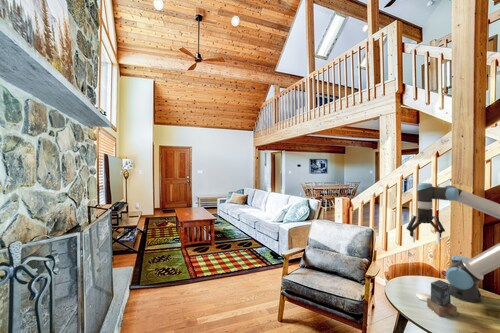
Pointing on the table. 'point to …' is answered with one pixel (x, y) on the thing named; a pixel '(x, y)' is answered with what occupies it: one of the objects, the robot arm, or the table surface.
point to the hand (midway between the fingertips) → (425, 242)
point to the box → (440, 293)
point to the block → (442, 309)
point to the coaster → (423, 296)
